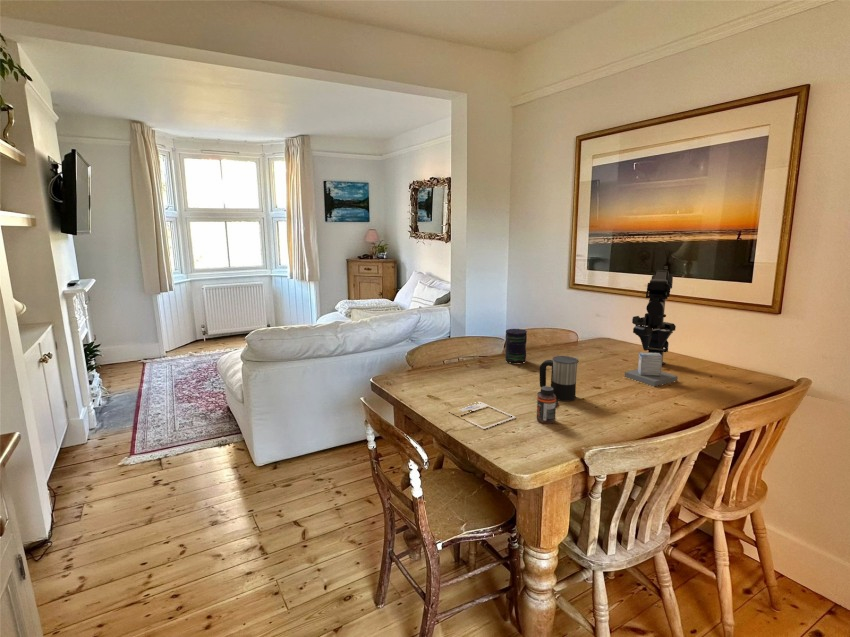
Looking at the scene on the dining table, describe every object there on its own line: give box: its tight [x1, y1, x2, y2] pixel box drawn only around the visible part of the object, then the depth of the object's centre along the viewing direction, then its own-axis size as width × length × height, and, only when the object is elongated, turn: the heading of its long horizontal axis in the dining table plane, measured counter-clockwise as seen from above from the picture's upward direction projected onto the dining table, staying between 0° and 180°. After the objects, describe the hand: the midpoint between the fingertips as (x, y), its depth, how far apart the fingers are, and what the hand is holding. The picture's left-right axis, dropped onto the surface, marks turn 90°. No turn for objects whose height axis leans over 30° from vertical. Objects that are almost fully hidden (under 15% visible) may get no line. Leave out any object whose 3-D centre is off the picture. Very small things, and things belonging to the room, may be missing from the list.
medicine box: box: [637, 352, 663, 376], centre depth 186 cm, size 8×4×9 cm, turn 78°
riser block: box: [624, 368, 679, 387], centre depth 188 cm, size 14×14×3 cm
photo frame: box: [459, 400, 517, 430], centre depth 154 cm, size 15×1×18 cm
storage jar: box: [504, 328, 528, 363], centre depth 214 cm, size 10×10×15 cm
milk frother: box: [537, 355, 579, 406], centre depth 166 cm, size 14×16×15 cm
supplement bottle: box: [536, 385, 557, 425], centre depth 148 cm, size 6×6×11 cm
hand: (652, 349), depth 185 cm, fingers open, 9 cm apart
